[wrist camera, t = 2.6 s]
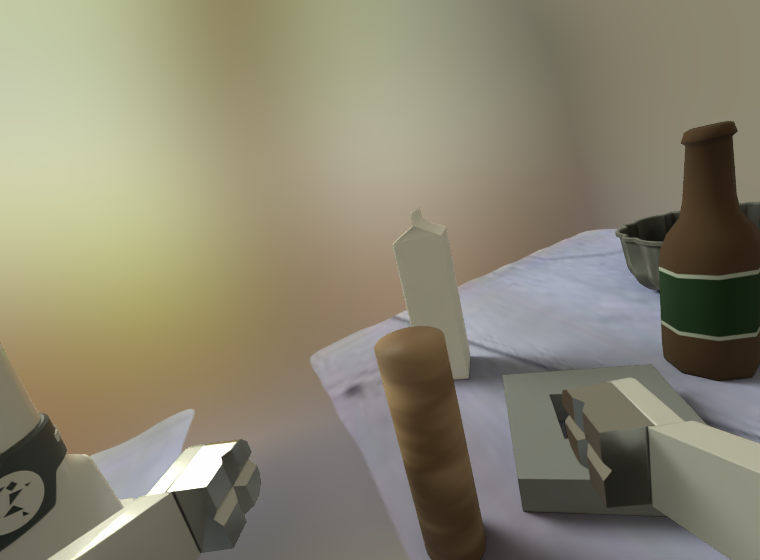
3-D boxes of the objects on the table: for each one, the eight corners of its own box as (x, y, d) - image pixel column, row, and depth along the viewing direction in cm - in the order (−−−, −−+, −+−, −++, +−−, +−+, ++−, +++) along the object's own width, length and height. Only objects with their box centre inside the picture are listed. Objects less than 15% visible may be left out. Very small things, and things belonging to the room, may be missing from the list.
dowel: (421, 568, 24) (365, 362, 20) (428, 510, 28) (383, 330, 24) (487, 574, 23) (441, 355, 19) (484, 513, 27) (446, 322, 23)
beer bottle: (777, 386, 32) (790, 108, 26) (667, 378, 36) (658, 138, 31) (749, 346, 38) (754, 113, 33) (658, 343, 43) (649, 137, 37)
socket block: (523, 511, 26) (517, 478, 26) (506, 398, 39) (502, 374, 39) (757, 519, 22) (759, 481, 22) (652, 390, 35) (651, 364, 35)
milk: (470, 356, 50) (443, 202, 45) (469, 380, 45) (437, 207, 39) (428, 359, 52) (397, 211, 47) (422, 382, 47) (386, 217, 41)
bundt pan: (620, 263, 72) (616, 215, 69) (818, 251, 56) (823, 189, 54) (617, 316, 51) (613, 250, 49) (928, 320, 36) (943, 224, 34)
